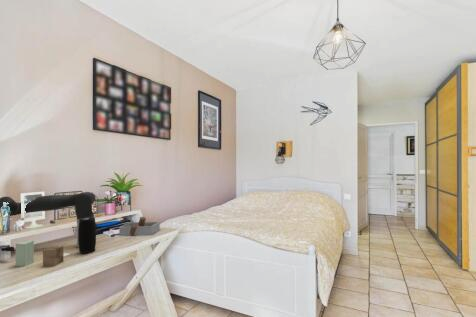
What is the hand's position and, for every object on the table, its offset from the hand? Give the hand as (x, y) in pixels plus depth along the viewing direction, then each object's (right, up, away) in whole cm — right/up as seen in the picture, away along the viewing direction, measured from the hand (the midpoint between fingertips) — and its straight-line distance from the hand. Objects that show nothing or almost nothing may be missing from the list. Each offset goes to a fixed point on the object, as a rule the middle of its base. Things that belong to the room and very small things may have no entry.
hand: (5, 251), depth 129 cm
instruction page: (+19, -6, +10) cm, 22 cm away
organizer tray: (+46, -7, +58) cm, 75 cm away
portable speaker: (+32, -6, +17) cm, 37 cm away
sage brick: (+10, -6, -1) cm, 12 cm away
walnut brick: (+25, -6, -1) cm, 26 cm away
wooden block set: (+46, -7, +58) cm, 75 cm away
